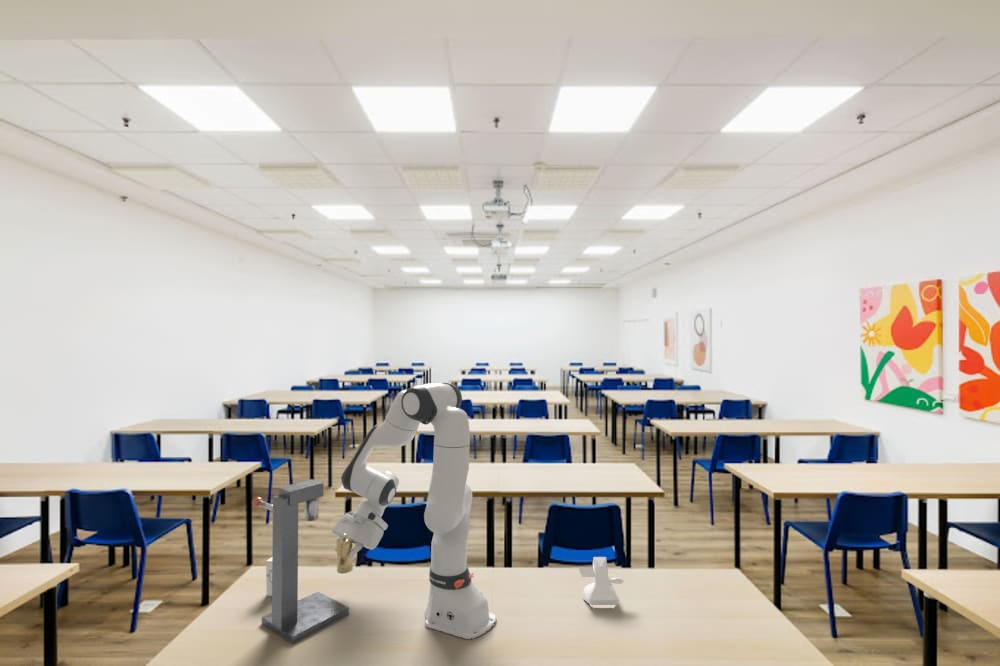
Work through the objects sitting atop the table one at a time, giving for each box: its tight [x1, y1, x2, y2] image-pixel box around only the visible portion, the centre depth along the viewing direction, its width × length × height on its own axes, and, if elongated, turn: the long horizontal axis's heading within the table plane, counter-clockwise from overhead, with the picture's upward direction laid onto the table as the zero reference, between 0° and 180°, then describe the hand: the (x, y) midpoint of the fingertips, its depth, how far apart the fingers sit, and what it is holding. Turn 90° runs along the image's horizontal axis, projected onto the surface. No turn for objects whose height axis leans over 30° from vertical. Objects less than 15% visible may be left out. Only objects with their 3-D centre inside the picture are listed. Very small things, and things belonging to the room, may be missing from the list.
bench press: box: [251, 478, 350, 645], centre depth 159 cm, size 25×19×41 cm
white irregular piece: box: [578, 556, 625, 606], centre depth 168 cm, size 8×14×14 cm, turn 91°
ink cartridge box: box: [265, 556, 272, 597], centre depth 173 cm, size 9×5×15 cm, turn 168°
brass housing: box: [336, 533, 354, 575], centre depth 172 cm, size 5×5×12 cm
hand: (343, 554), depth 171 cm, fingers closed on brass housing, 5 cm apart
